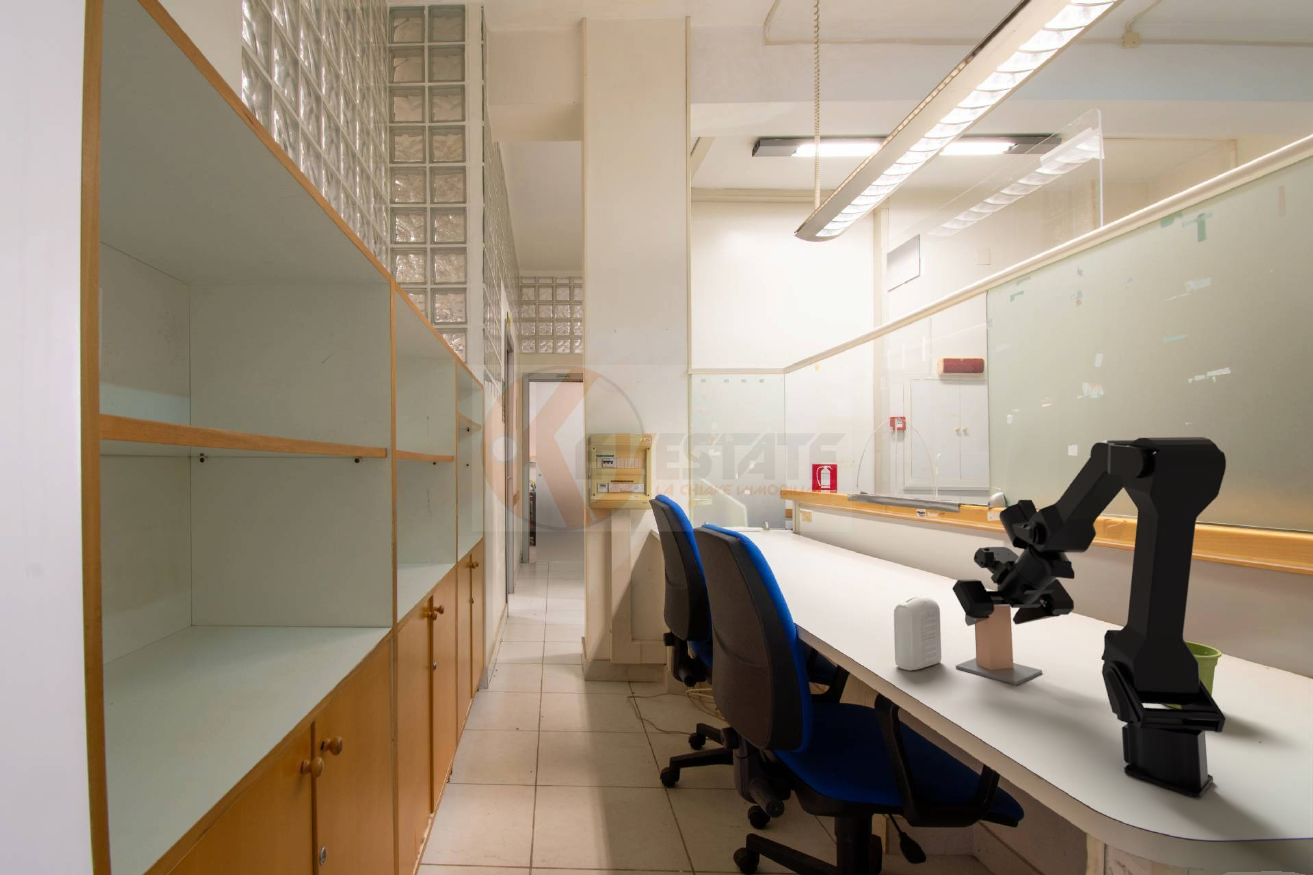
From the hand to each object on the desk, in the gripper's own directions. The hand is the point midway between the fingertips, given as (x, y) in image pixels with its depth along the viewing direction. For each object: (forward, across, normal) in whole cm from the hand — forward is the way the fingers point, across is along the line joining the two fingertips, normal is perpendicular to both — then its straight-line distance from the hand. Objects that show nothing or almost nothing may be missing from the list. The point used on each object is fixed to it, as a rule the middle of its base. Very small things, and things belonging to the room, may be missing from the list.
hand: (991, 622), depth 102 cm
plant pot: (-7, -18, +18) cm, 26 cm away
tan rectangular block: (+5, 0, +6) cm, 8 cm away
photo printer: (+8, +12, +4) cm, 15 cm away
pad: (+5, 0, +7) cm, 8 cm away
